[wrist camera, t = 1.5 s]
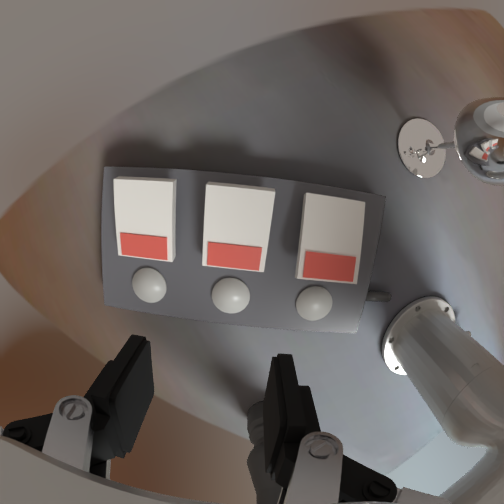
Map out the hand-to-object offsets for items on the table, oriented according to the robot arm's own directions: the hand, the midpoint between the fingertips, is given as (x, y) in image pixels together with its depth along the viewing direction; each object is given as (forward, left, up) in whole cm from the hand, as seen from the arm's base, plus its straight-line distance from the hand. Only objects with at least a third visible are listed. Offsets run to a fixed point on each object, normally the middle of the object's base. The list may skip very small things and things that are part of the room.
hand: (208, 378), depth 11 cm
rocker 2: (0, -3, -17) cm, 18 cm away
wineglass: (-21, -15, -23) cm, 34 cm away
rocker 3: (-9, -3, -17) cm, 20 cm away
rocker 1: (+9, -3, -17) cm, 20 cm away
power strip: (-2, 0, -22) cm, 23 cm away
